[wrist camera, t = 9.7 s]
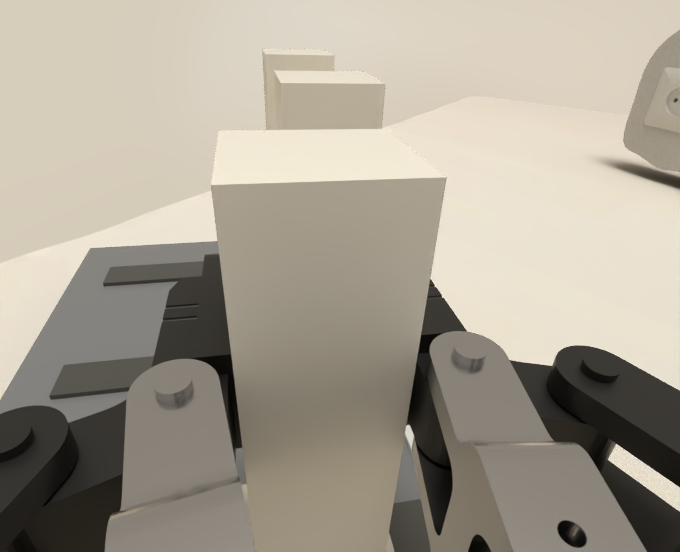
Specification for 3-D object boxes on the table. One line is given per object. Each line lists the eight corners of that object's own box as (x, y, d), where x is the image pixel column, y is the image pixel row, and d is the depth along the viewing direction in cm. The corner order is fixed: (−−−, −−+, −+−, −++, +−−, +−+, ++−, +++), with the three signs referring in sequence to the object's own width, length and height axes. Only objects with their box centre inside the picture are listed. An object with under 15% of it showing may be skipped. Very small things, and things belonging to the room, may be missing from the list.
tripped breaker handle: (368, 478, 13) (407, 125, 8) (399, 591, 11) (486, 183, 5) (242, 498, 12) (193, 127, 7) (243, 624, 10) (170, 194, 5)
